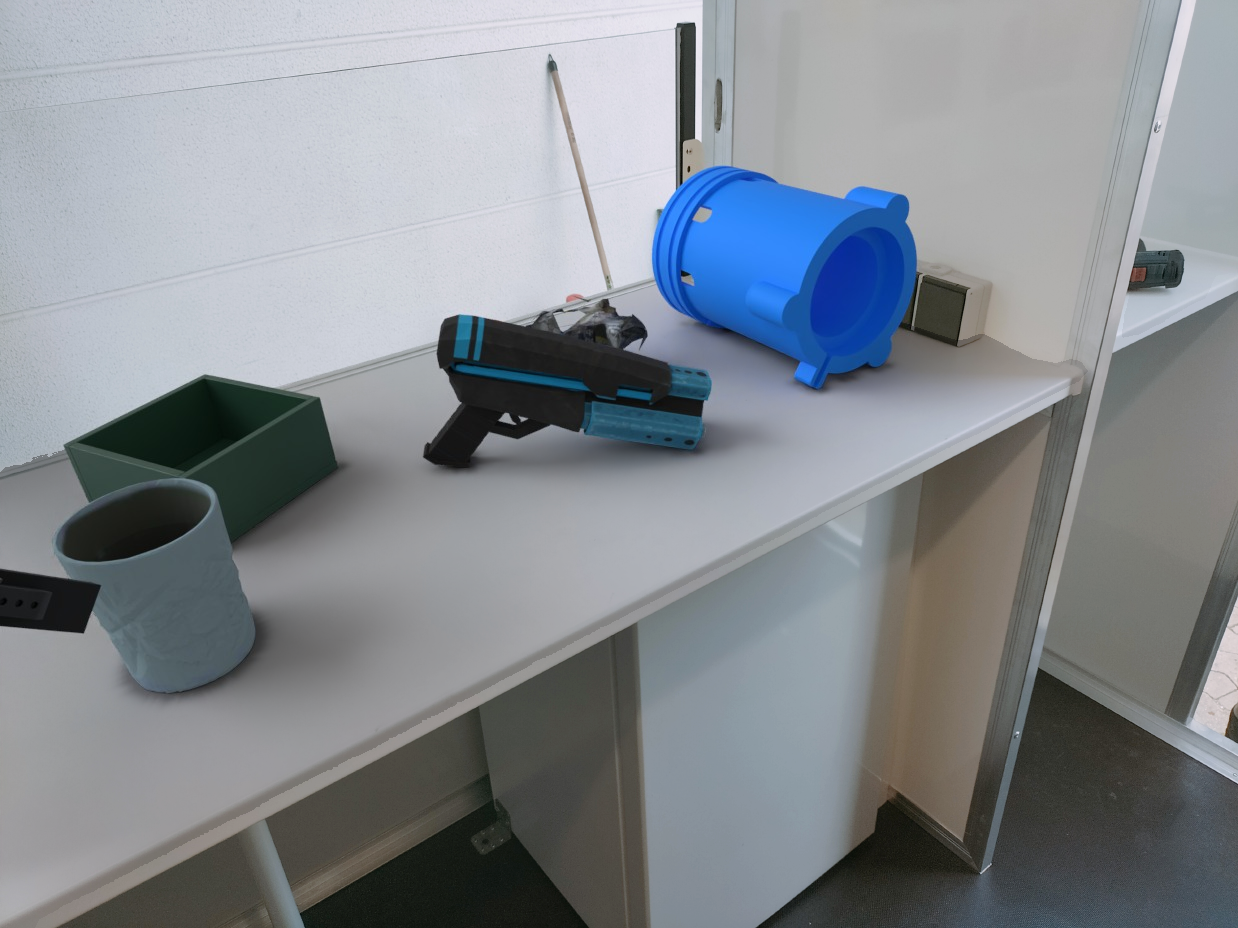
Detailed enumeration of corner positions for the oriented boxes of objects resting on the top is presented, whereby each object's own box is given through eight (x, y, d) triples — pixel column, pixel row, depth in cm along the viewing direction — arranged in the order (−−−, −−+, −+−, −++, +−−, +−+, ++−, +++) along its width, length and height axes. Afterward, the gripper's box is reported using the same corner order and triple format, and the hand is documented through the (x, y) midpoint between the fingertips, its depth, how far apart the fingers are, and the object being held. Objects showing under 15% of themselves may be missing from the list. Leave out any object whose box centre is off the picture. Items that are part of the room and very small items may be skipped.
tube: (728, 343, 118) (624, 302, 106) (795, 190, 114) (695, 129, 101) (864, 406, 100) (757, 366, 87) (951, 228, 95) (851, 158, 83)
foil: (532, 319, 108) (615, 267, 98) (575, 394, 109) (660, 350, 99) (473, 349, 99) (557, 295, 89) (520, 429, 101) (608, 385, 91)
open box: (95, 517, 79) (62, 444, 75) (226, 440, 91) (204, 373, 87) (213, 555, 73) (184, 478, 69) (338, 467, 85) (320, 397, 81)
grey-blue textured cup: (253, 686, 59) (200, 547, 53) (97, 715, 58) (24, 576, 52) (272, 595, 68) (228, 467, 62) (137, 618, 66) (78, 489, 60)
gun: (685, 510, 86) (727, 377, 79) (419, 477, 80) (438, 330, 73) (672, 470, 93) (709, 343, 85) (425, 437, 87) (443, 299, 80)
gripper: (-756, 537, 34) (-147, 598, 53) (-471, 700, 25) (137, 703, 44) (-657, 361, 35) (-99, 483, 55) (-353, 454, 26) (186, 561, 45)
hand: (7, 581), depth 49 cm, fingers open, 13 cm apart
